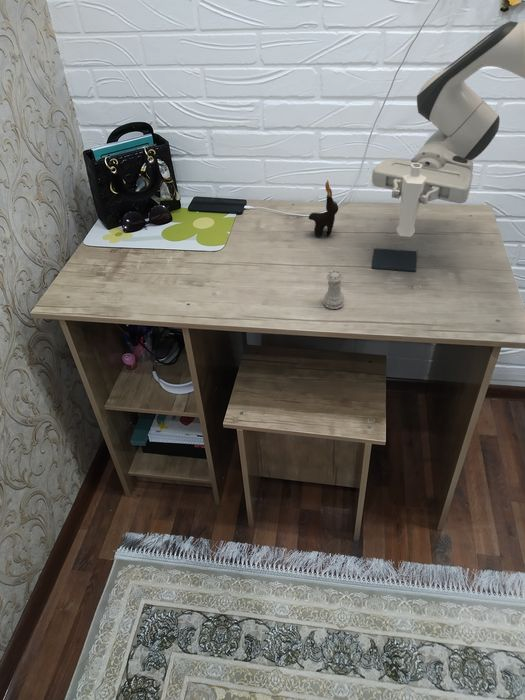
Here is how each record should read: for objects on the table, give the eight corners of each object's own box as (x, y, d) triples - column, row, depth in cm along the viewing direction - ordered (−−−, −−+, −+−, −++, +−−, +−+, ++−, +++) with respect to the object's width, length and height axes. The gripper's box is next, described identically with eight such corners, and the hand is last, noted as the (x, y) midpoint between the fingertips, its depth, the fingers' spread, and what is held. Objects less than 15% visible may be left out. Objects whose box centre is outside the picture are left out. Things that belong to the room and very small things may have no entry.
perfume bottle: (402, 240, 119) (414, 173, 108) (390, 229, 122) (400, 163, 111) (421, 234, 120) (434, 167, 109) (409, 224, 123) (420, 158, 112)
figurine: (336, 245, 140) (338, 188, 130) (307, 244, 141) (307, 188, 131) (338, 222, 147) (341, 167, 137) (311, 221, 148) (311, 167, 138)
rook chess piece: (343, 311, 121) (345, 280, 116) (322, 309, 122) (323, 279, 116) (344, 298, 124) (346, 267, 119) (324, 296, 125) (325, 266, 120)
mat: (416, 252, 135) (416, 251, 135) (415, 272, 130) (416, 270, 129) (373, 249, 137) (373, 248, 137) (371, 269, 132) (371, 267, 131)
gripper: (386, 146, 125) (361, 173, 116) (481, 162, 117) (462, 193, 108) (383, 173, 129) (359, 201, 121) (475, 191, 121) (456, 222, 113)
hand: (409, 197), depth 114 cm, fingers closed on perfume bottle, 4 cm apart
